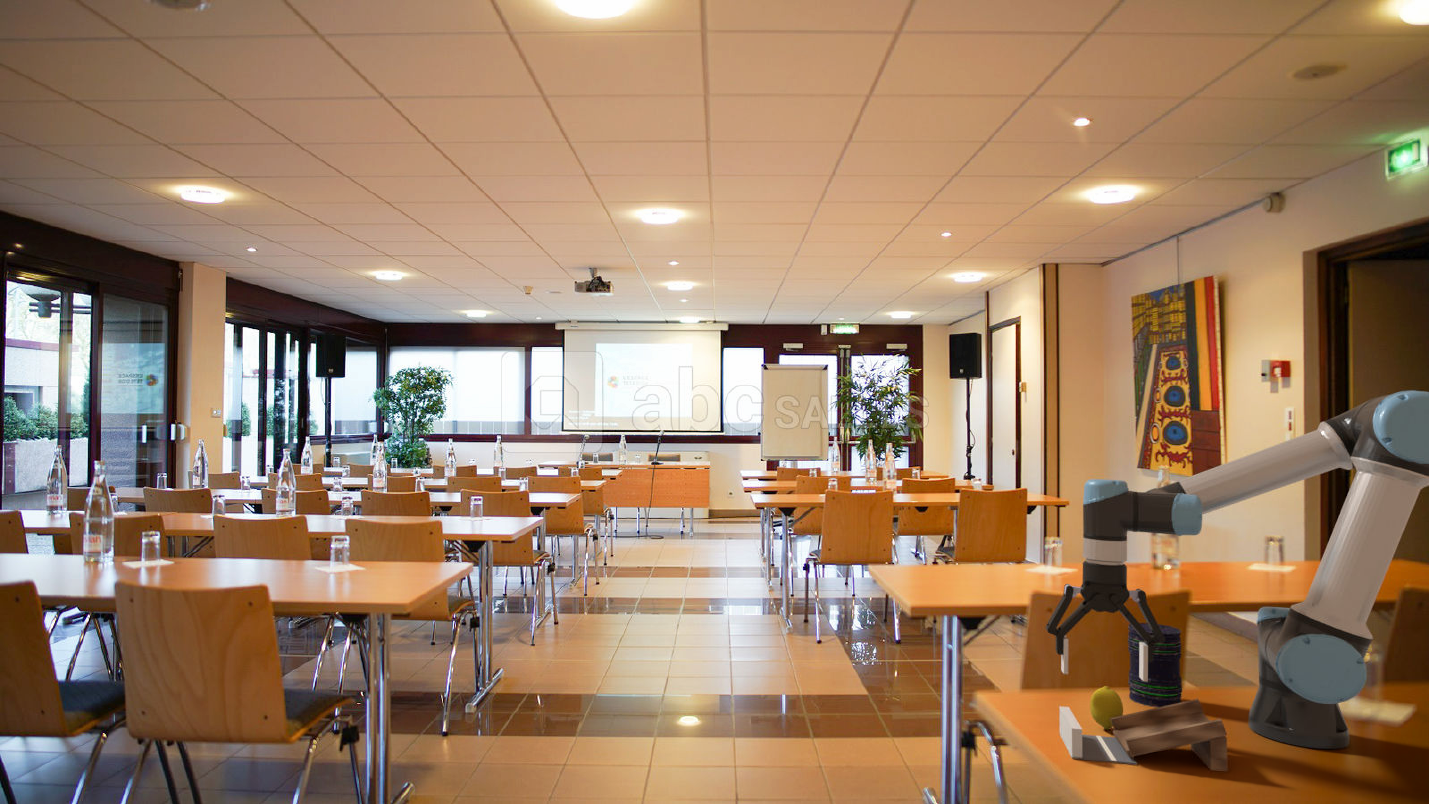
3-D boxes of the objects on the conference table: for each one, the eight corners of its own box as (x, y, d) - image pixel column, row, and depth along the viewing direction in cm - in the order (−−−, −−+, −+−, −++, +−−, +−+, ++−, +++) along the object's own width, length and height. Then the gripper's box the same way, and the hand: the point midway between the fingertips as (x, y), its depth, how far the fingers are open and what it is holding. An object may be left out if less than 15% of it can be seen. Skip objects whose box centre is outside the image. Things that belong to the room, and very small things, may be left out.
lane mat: (1119, 739, 146) (1119, 737, 146) (1137, 765, 135) (1137, 763, 135) (1059, 734, 149) (1059, 732, 149) (1072, 758, 137) (1072, 756, 137)
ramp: (1204, 747, 143) (1203, 699, 143) (1229, 773, 132) (1228, 721, 132) (1110, 739, 146) (1109, 692, 147) (1126, 763, 135) (1126, 712, 136)
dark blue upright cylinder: (1163, 711, 163) (1162, 635, 163) (1118, 697, 171) (1117, 625, 172) (1192, 703, 168) (1191, 630, 168) (1147, 691, 176) (1146, 621, 177)
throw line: (1100, 737, 147) (1100, 736, 147) (1116, 762, 135) (1116, 760, 135) (1095, 737, 147) (1095, 735, 147) (1111, 762, 136) (1111, 760, 136)
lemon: (1127, 736, 148) (1126, 691, 149) (1094, 733, 149) (1094, 689, 150) (1118, 726, 154) (1117, 683, 154) (1087, 723, 155) (1086, 680, 155)
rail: (1069, 735, 148) (1068, 707, 149) (1082, 759, 137) (1082, 729, 137) (1059, 734, 149) (1059, 706, 149) (1072, 758, 137) (1071, 728, 137)
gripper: (1171, 563, 154) (1170, 676, 153) (1031, 554, 160) (1029, 664, 159) (1184, 569, 146) (1183, 688, 145) (1037, 560, 152) (1035, 674, 151)
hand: (1103, 676), depth 152 cm, fingers open, 13 cm apart
